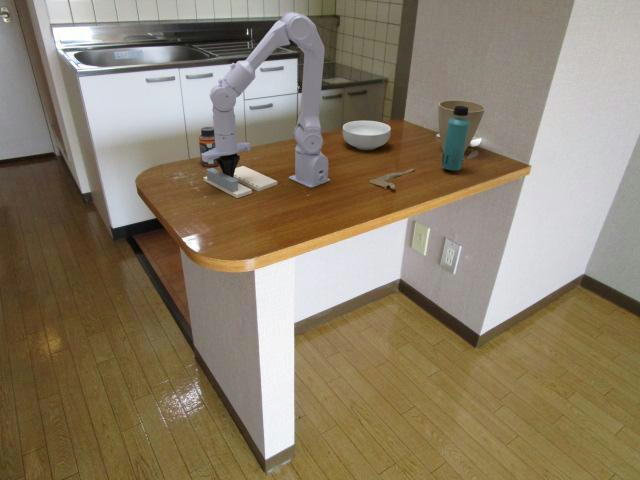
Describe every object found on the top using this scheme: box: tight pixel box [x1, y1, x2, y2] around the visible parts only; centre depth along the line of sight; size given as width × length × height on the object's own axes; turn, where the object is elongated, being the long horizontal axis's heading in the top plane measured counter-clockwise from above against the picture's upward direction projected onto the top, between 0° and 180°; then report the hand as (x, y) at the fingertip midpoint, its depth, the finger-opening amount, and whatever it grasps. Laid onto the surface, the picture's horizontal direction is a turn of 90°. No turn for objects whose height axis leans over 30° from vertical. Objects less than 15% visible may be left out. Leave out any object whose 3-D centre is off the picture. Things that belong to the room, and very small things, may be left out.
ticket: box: [233, 165, 278, 192], centre depth 133 cm, size 16×7×1 cm, turn 45°
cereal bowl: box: [342, 120, 392, 151], centre depth 159 cm, size 17×17×7 cm
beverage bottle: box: [440, 106, 470, 171], centre depth 138 cm, size 6×7×20 cm
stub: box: [203, 167, 253, 199], centre depth 127 cm, size 16×5×4 cm, turn 45°
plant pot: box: [437, 99, 486, 153], centre depth 155 cm, size 15×15×16 cm
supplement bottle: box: [198, 126, 220, 168], centre depth 140 cm, size 6×6×11 cm
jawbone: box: [368, 167, 416, 191], centre depth 137 cm, size 9×20×2 cm, turn 153°
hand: (229, 180), depth 127 cm, fingers closed
